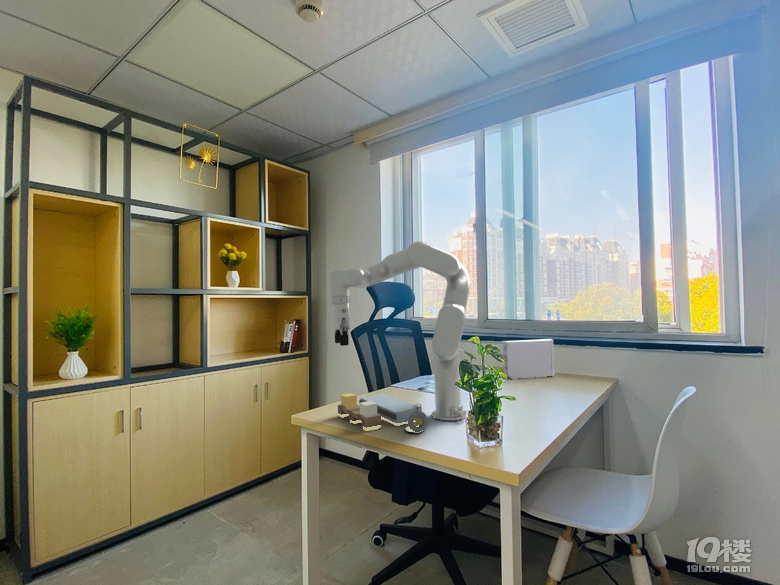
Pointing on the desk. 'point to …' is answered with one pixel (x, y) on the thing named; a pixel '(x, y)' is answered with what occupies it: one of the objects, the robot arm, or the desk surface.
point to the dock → (392, 407)
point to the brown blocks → (360, 416)
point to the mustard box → (348, 400)
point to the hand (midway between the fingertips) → (341, 344)
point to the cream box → (368, 409)
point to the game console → (528, 358)
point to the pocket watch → (417, 420)
